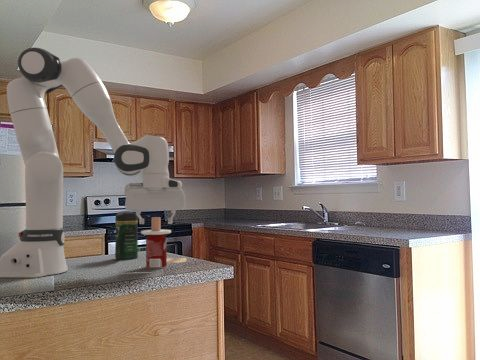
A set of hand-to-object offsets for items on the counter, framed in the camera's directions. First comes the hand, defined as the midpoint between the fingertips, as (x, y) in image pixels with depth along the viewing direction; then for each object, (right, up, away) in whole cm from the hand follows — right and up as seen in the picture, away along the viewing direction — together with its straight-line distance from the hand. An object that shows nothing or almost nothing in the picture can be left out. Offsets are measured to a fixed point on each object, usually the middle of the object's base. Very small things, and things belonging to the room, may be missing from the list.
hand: (156, 223), depth 144 cm
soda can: (0, -15, 0) cm, 15 cm away
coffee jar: (-16, -16, +21) cm, 31 cm away
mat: (+4, -16, +13) cm, 21 cm away
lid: (0, -3, 0) cm, 3 cm away
